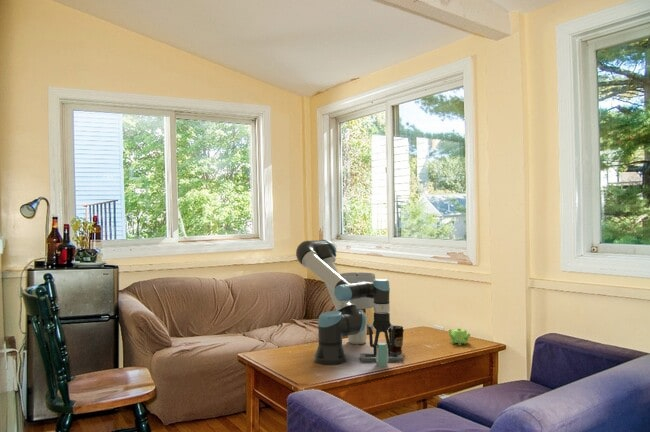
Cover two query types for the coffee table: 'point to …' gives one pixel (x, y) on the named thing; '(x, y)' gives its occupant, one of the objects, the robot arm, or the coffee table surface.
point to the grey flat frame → (372, 358)
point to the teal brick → (382, 354)
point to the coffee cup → (396, 339)
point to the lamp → (360, 302)
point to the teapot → (459, 336)
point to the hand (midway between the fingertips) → (382, 361)
